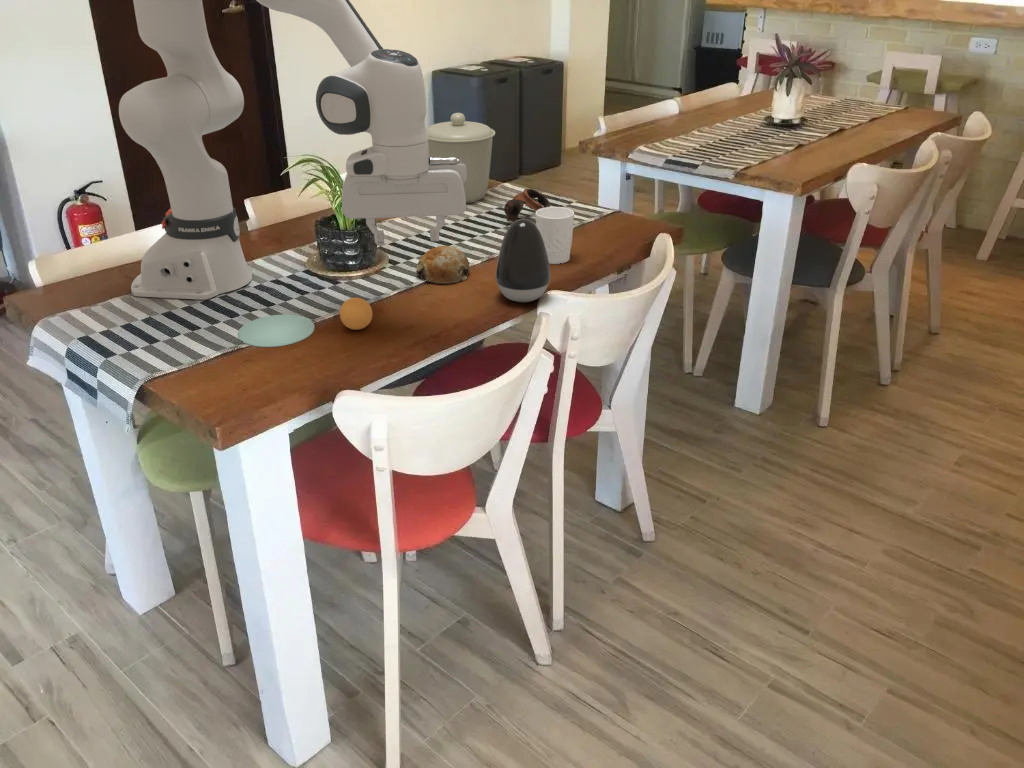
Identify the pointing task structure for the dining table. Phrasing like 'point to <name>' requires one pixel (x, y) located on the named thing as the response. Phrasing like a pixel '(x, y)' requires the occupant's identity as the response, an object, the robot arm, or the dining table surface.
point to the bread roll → (443, 265)
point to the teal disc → (276, 330)
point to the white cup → (556, 232)
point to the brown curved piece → (516, 203)
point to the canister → (464, 150)
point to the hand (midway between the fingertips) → (407, 241)
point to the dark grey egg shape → (523, 262)
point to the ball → (355, 313)
